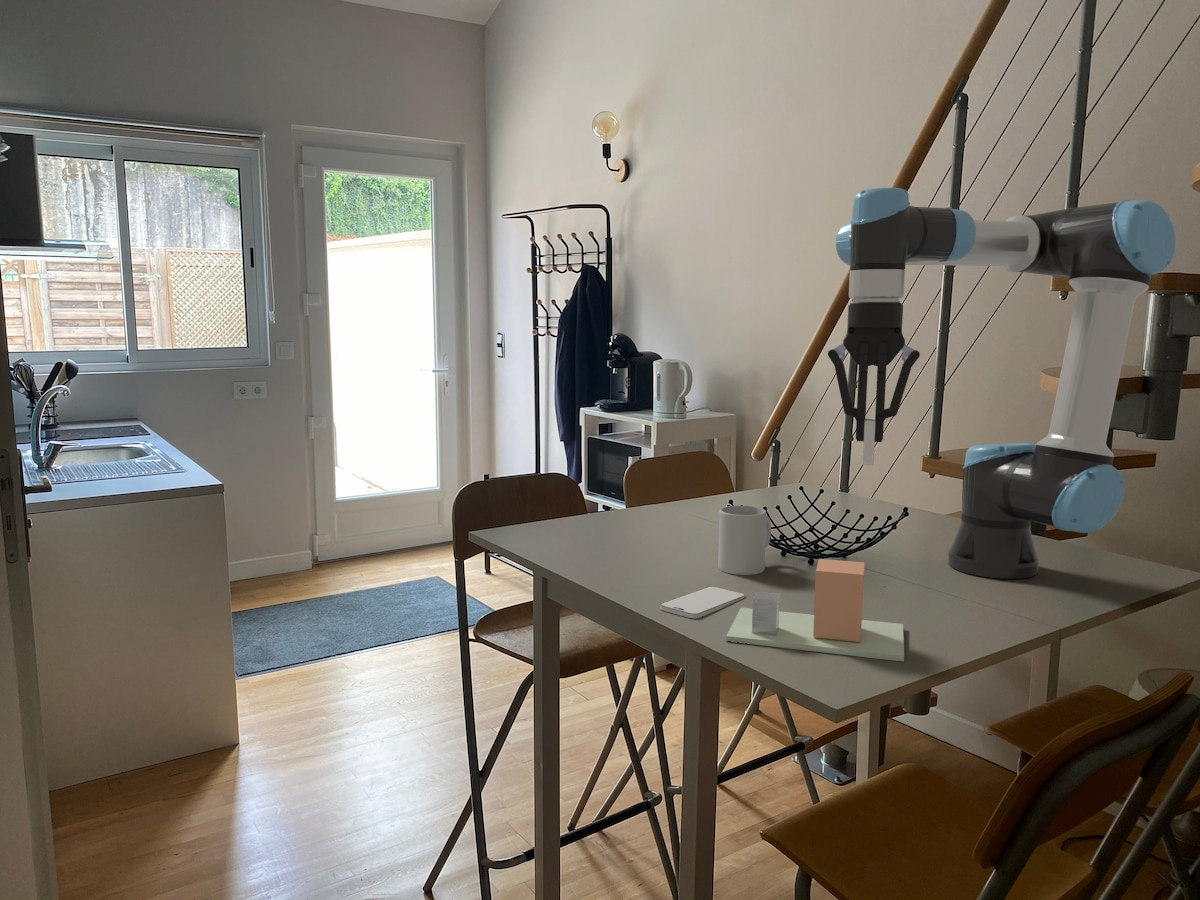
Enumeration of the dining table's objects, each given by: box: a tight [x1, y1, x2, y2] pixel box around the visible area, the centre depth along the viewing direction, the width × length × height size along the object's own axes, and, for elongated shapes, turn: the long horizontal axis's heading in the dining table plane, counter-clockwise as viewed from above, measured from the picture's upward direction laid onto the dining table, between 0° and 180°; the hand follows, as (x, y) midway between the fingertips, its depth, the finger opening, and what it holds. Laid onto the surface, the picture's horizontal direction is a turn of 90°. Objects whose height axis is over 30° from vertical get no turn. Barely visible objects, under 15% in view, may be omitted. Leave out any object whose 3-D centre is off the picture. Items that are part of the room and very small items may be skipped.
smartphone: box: [659, 586, 746, 620], centre depth 143 cm, size 7×1×15 cm
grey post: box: [752, 591, 781, 636], centre depth 128 cm, size 3×3×6 cm
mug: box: [717, 505, 772, 576], centre depth 162 cm, size 12×8×11 cm
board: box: [725, 607, 905, 662], centre depth 128 cm, size 24×13×1 cm, turn 72°
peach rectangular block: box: [813, 558, 866, 642], centre depth 126 cm, size 6×6×10 cm
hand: (868, 463), depth 130 cm, fingers closed
